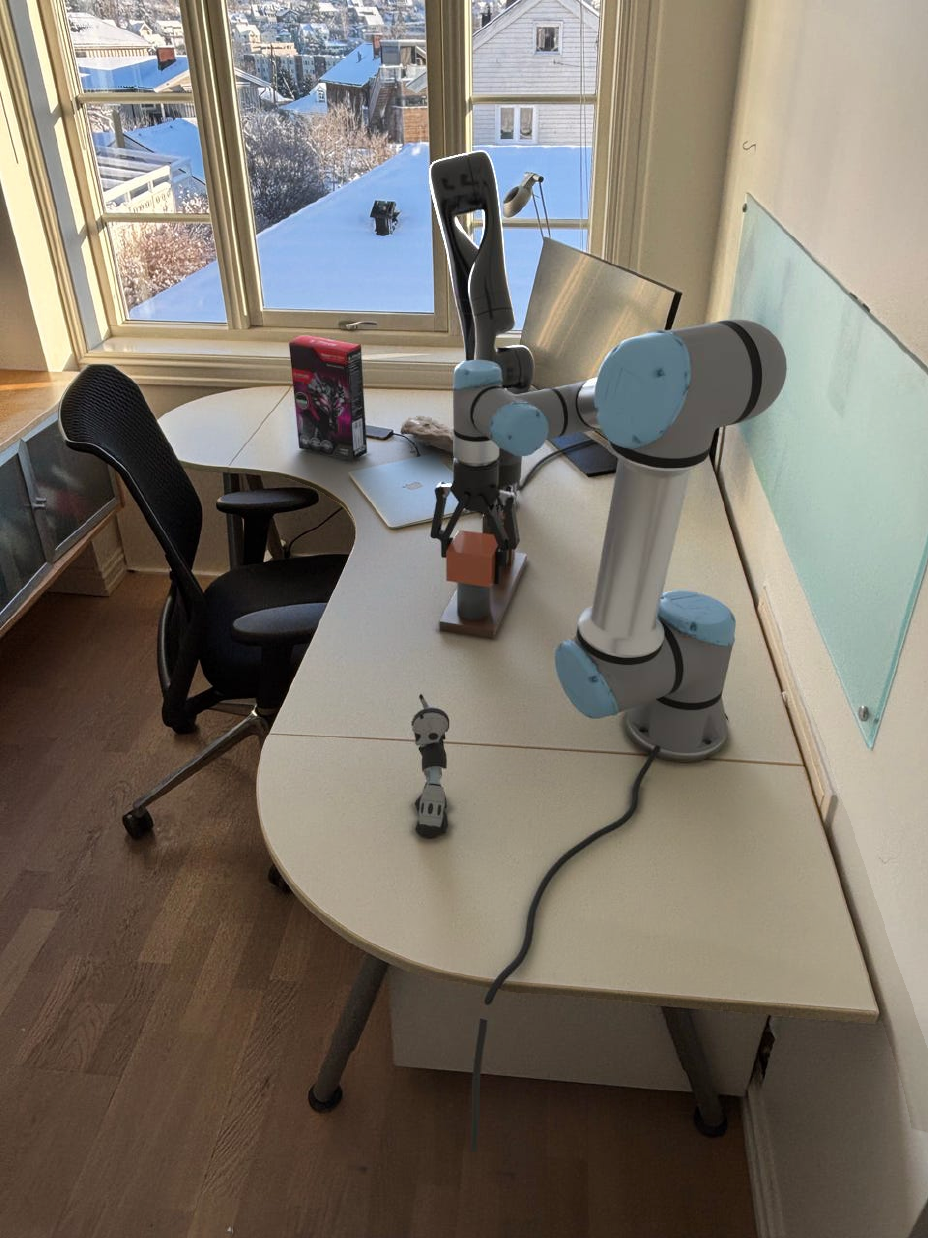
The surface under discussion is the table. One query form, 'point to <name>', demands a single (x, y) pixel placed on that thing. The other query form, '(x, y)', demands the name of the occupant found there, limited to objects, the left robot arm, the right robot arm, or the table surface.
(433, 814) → the robot
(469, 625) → the walnut stand
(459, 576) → the terracotta cap
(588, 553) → the table surface
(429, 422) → the stone
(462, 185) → the left robot arm
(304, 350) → the graphics card box
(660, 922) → the table surface
